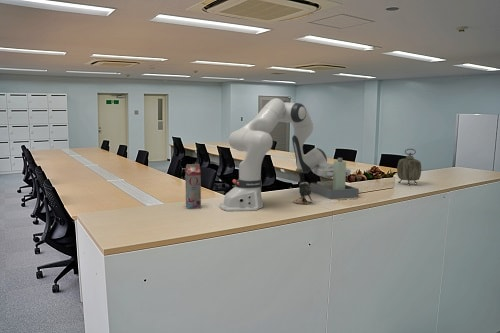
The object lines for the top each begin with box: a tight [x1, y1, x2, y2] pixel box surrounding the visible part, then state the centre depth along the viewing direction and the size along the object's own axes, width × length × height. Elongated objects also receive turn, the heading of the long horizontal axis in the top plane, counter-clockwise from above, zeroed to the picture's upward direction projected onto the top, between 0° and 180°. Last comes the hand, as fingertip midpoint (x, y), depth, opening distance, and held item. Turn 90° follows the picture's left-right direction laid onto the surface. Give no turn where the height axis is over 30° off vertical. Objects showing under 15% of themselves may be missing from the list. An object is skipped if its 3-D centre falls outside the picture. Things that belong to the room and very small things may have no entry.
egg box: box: [315, 180, 333, 190], centre depth 235 cm, size 12×8×6 cm, turn 109°
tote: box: [309, 182, 360, 201], centre depth 229 cm, size 18×24×6 cm
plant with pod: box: [292, 166, 313, 205], centre depth 208 cm, size 8×11×20 cm
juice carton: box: [185, 163, 202, 210], centre depth 196 cm, size 7×7×22 cm
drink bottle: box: [332, 157, 347, 190], centre depth 222 cm, size 5×5×22 cm
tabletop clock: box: [396, 148, 422, 185], centre depth 268 cm, size 14×9×25 cm, turn 77°
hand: (340, 174), depth 221 cm, fingers open, 8 cm apart
